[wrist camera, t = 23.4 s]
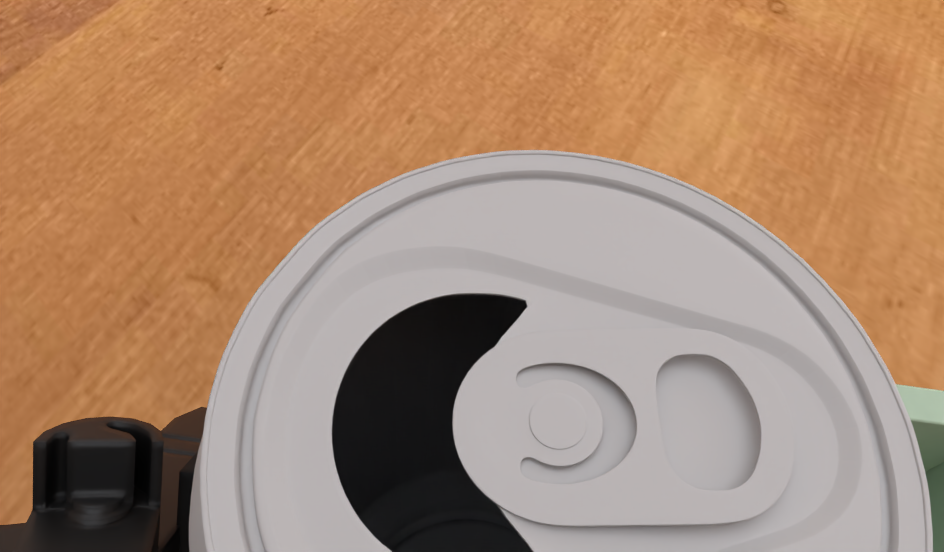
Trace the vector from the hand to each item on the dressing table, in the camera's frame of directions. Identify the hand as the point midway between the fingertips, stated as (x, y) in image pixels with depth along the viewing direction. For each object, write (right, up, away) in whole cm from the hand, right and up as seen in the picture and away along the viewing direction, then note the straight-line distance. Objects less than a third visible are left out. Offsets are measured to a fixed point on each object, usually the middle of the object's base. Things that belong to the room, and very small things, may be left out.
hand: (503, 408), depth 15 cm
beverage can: (-1, -5, +1) cm, 5 cm away
